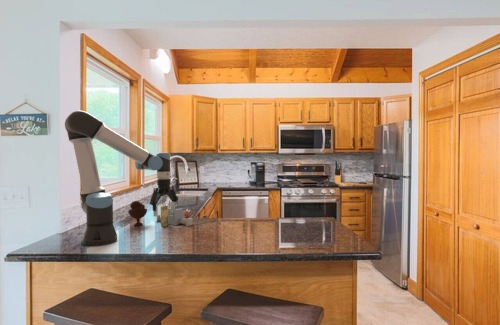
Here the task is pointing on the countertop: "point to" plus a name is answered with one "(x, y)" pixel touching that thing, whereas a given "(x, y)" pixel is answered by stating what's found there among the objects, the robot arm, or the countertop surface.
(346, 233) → the countertop surface
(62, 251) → the countertop surface
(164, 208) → the brass nipple
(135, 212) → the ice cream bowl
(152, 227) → the countertop surface
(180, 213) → the valve
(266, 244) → the countertop surface
